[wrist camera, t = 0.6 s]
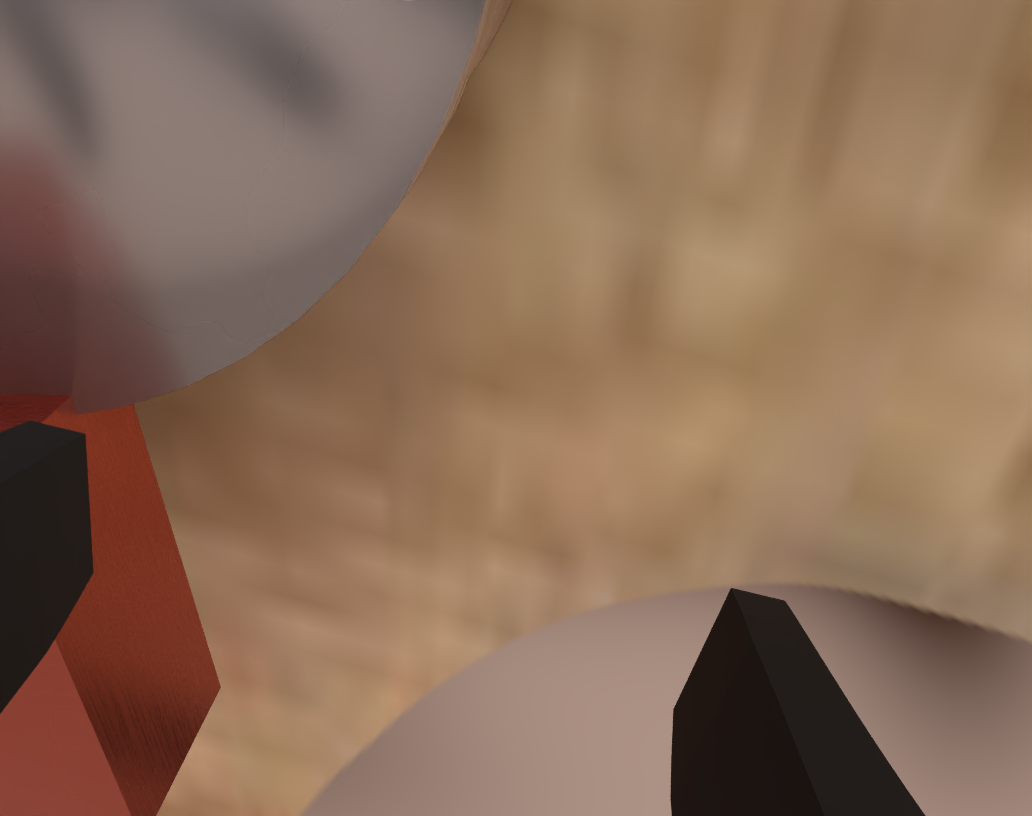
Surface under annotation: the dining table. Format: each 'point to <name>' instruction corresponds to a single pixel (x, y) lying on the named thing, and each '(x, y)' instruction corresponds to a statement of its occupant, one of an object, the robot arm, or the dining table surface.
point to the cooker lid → (177, 297)
